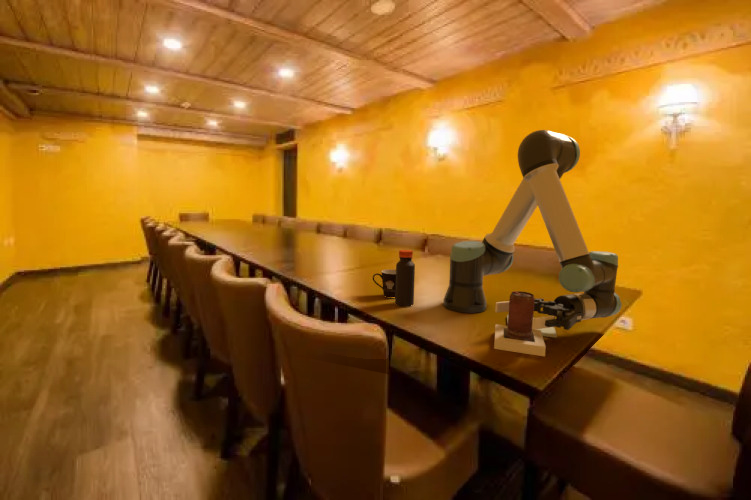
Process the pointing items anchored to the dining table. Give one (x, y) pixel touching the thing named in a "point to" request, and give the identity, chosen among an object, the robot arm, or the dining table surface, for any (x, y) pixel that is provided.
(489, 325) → the dining table surface
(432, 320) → the dining table surface
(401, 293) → the bottle
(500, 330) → the cup holder
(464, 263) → the robot arm
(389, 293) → the coffee mug
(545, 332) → the rubber mat
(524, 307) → the can
